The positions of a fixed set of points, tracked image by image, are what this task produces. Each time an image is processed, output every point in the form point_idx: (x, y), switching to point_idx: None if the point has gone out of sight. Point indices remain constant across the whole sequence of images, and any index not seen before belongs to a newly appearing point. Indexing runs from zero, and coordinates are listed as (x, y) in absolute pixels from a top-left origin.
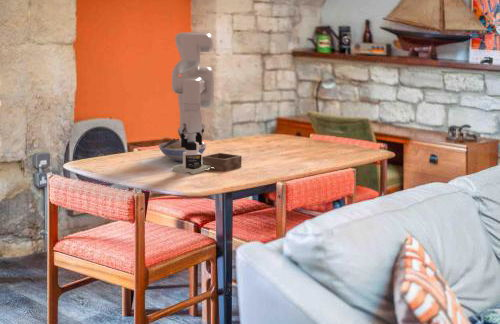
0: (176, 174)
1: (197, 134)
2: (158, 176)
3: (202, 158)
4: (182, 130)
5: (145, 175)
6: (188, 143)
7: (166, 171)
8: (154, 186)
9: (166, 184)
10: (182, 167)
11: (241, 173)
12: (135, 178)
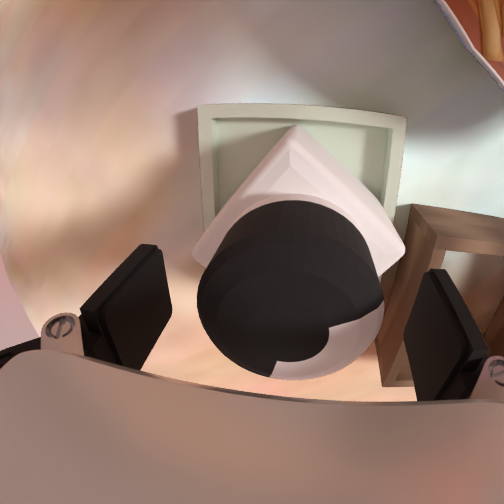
0: (145, 202)
1: (462, 393)
2: (64, 168)
3: (431, 230)
4: (59, 390)
5: (43, 109)
6: (205, 320)
7: (162, 99)
8: (9, 268)
9: (37, 282)
10: (295, 121)
11: (358, 399)
12: (3, 133)
